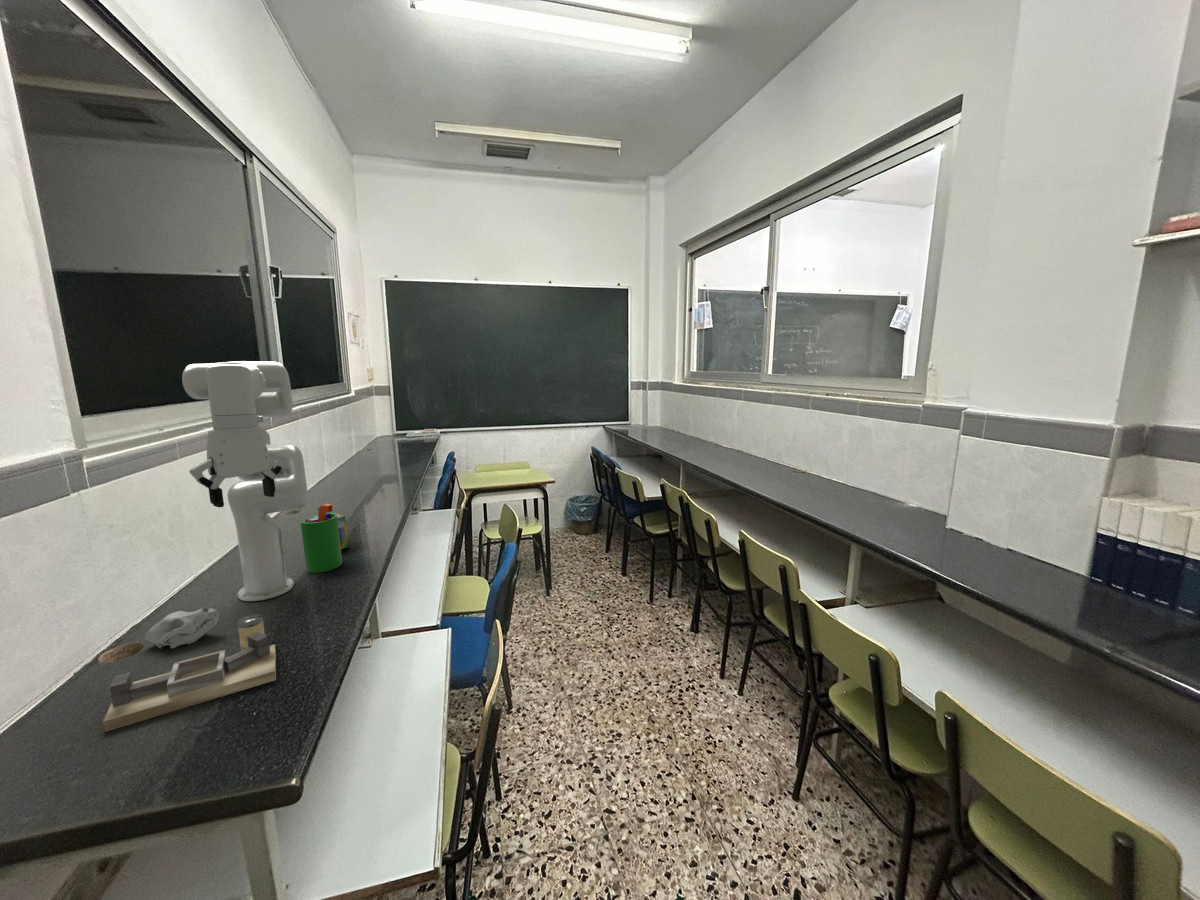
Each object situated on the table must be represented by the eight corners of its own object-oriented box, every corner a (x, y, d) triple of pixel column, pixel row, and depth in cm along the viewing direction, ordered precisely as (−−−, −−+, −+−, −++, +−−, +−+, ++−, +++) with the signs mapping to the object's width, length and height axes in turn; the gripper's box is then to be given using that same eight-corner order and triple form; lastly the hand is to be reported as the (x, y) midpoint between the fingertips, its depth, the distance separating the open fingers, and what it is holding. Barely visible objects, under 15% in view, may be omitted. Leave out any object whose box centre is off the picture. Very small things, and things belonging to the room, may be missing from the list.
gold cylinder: (241, 646, 103) (237, 617, 102) (266, 640, 106) (262, 612, 105) (240, 656, 100) (236, 626, 99) (265, 650, 102) (262, 620, 101)
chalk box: (349, 547, 160) (345, 506, 158) (322, 556, 153) (317, 513, 150) (335, 542, 165) (331, 502, 163) (307, 550, 158) (303, 508, 155)
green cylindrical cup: (319, 559, 150) (313, 499, 147) (348, 559, 151) (342, 499, 148) (302, 573, 140) (295, 509, 137) (333, 572, 141) (326, 509, 138)
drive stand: (121, 695, 88) (116, 666, 87) (275, 652, 101) (272, 627, 100) (104, 732, 79) (98, 700, 78) (275, 680, 93) (272, 652, 92)
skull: (151, 627, 106) (195, 587, 108) (188, 649, 109) (230, 609, 111) (132, 644, 99) (179, 600, 101) (171, 667, 102) (217, 623, 104)
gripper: (270, 419, 109) (278, 491, 111) (176, 426, 94) (187, 508, 96) (288, 420, 105) (296, 494, 107) (192, 427, 90) (204, 513, 93)
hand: (245, 501), depth 102 cm, fingers open, 9 cm apart
